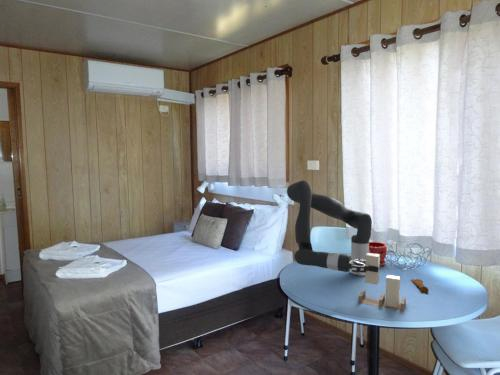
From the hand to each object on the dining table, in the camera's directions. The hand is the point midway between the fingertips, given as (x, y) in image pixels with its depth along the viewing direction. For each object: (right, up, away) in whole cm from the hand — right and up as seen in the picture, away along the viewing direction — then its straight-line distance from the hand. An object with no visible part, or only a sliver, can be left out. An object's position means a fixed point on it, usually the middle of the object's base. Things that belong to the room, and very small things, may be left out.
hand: (379, 268), depth 151 cm
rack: (+1, -16, +1) cm, 16 cm away
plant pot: (+18, -11, +60) cm, 63 cm away
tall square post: (+5, -15, -1) cm, 16 cm away
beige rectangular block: (-2, -6, +2) cm, 7 cm away
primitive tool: (+28, -15, +24) cm, 39 cm away
